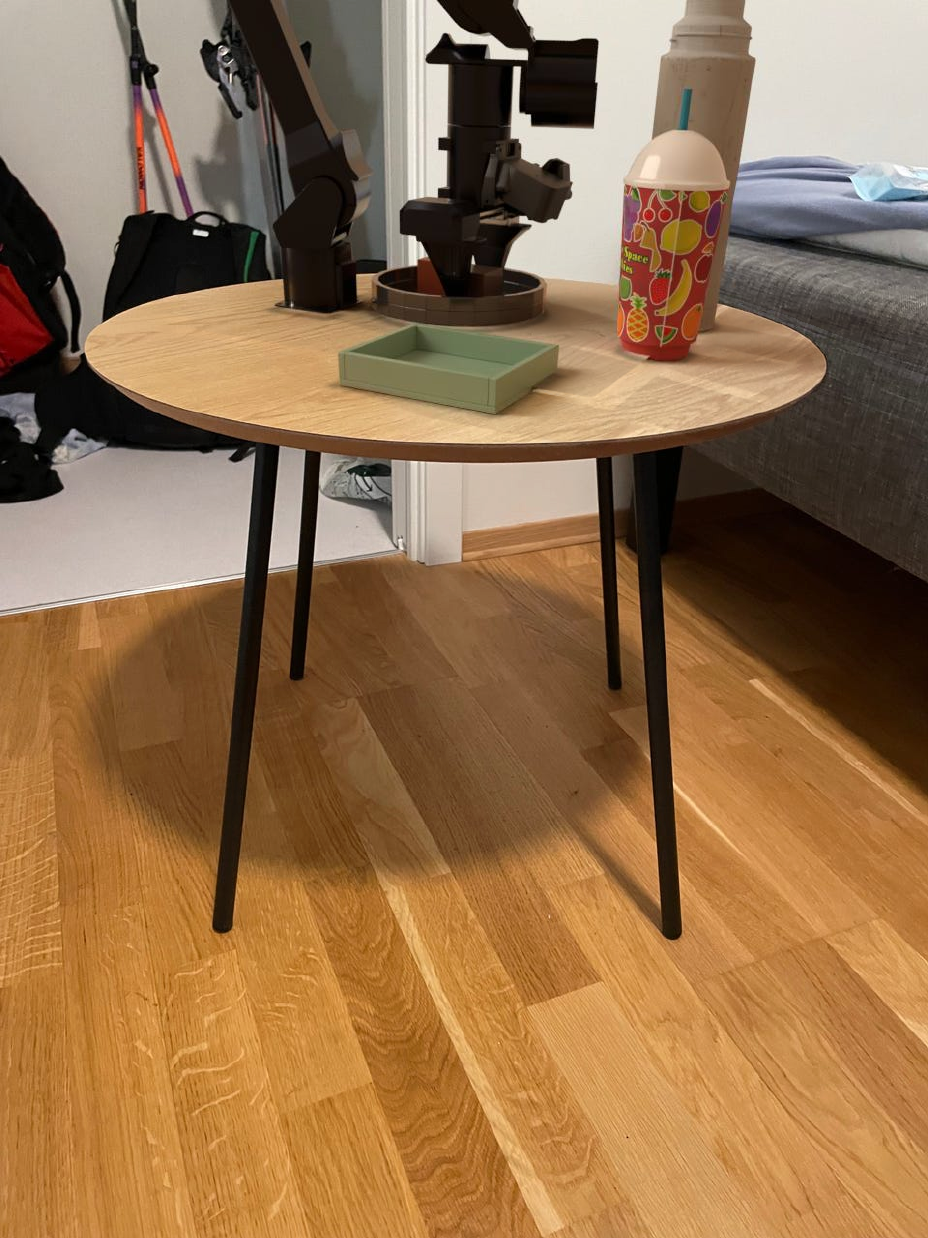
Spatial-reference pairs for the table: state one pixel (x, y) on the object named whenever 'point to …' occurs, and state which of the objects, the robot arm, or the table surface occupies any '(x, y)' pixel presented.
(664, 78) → the thermos bottle
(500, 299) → the pan
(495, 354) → the tray
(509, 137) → the robot arm
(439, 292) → the terracotta block
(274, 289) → the table surface
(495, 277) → the walnut block
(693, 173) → the smoothie
